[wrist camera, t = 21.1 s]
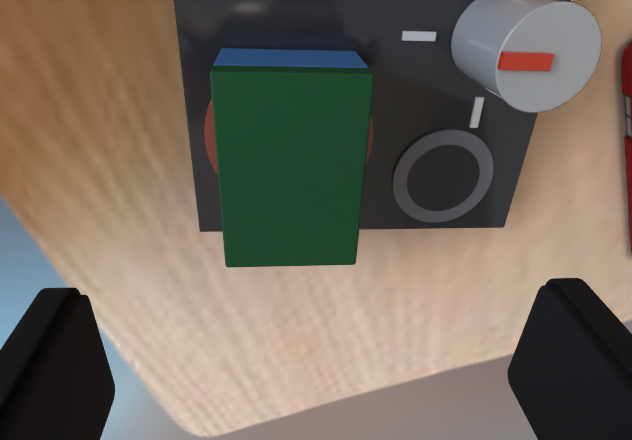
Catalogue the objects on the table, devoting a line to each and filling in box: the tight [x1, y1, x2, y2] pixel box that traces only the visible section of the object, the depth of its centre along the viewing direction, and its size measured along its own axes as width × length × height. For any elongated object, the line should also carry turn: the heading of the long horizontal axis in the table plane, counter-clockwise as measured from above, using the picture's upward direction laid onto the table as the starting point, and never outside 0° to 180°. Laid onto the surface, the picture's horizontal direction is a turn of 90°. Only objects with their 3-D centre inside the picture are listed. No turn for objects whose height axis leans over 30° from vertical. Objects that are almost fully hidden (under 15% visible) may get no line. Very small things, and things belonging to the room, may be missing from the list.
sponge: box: [210, 48, 375, 267], centre depth 19 cm, size 6×8×4 cm
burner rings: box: [204, 99, 493, 223], centre depth 21 cm, size 14×8×1 cm, turn 88°
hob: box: [174, 0, 571, 232], centre depth 21 cm, size 17×13×3 cm
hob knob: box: [451, 0, 602, 113], centre depth 17 cm, size 4×4×5 cm
